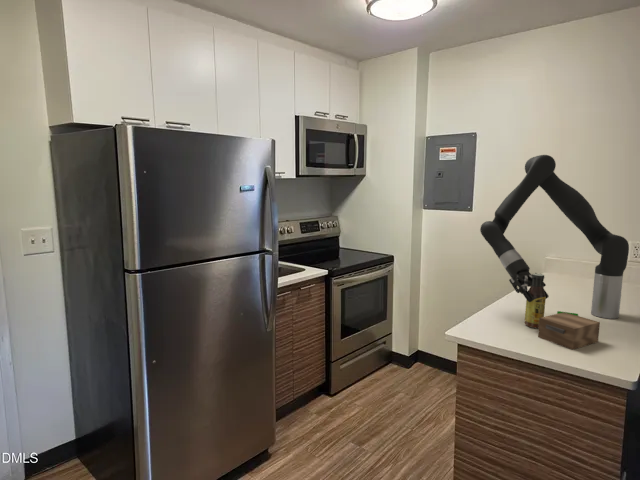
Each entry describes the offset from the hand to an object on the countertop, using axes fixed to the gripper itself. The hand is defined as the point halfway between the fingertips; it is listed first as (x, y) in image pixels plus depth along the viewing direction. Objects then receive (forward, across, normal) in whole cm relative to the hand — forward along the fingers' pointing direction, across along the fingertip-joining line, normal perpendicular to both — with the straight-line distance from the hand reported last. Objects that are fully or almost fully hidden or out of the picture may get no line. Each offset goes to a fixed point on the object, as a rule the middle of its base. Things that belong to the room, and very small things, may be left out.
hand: (539, 299), depth 148 cm
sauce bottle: (+7, 0, +9) cm, 11 cm away
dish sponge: (+9, +16, +7) cm, 20 cm away
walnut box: (+16, -2, -1) cm, 17 cm away
